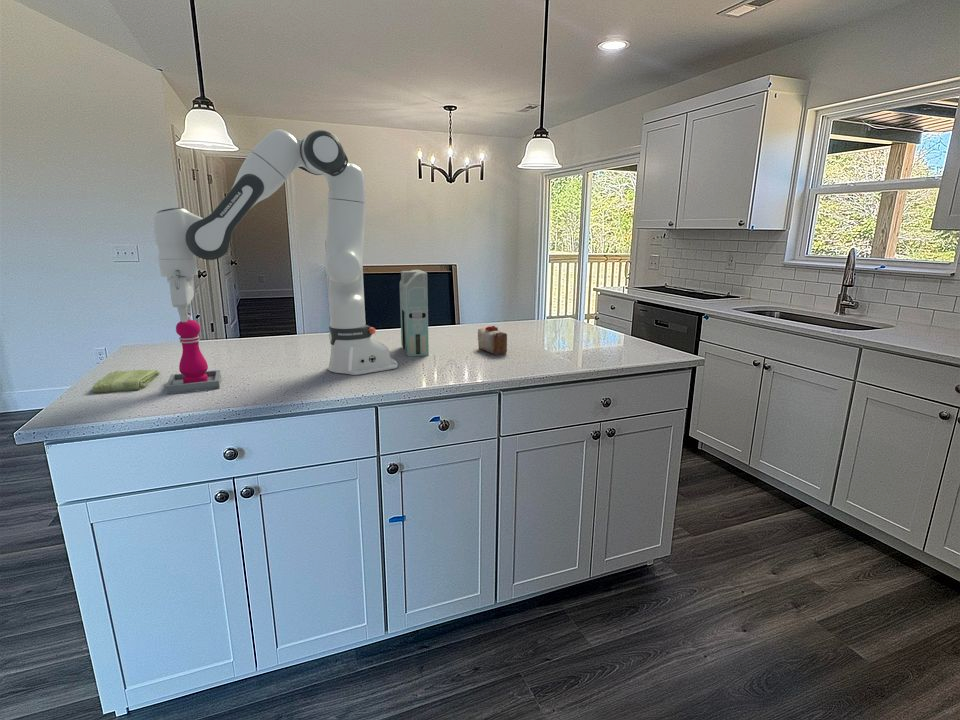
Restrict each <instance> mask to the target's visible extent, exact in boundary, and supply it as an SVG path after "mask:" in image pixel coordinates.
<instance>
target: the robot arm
mask: <svg viewBox="0 0 960 720" xmlns="http://www.w3.org/2000/svg"><path fill="white" fill-rule="evenodd" d="M297 168H298V169H300V170H303V171H305V172H306V173H309V174H311V175H315V176H324V177H325V179H326V181H327V186H328V187H327V188H328V196H327V225H326V226H327V228H326V229H327V230H326V241H325V242H326V244H325V257H324V259H325V260H324V261H325V262H324V269H325V272H326V274H327V280H328V283H327V285H328V309H329V310H328V311H329V322H330V325H329V329H328V336H329V338H328V339H329V344H330V358H329V361H328V362H329V363H328V367H327V370H328V371H329V372H332V373H337V374H348V375H352V376H353V375H354V376H358V375H363V374H369V373H376V372H382V371H388V370H394V369H397V368H398V366H399V363H398V362H397V360H395V358H392V357H391V353H390V350H389V348H388V346H387V345H386V344H385V343H382V341H380V340H378V339H377V338H376V337H374V336H373V335H375V334H376V332H377V330H376V328H375V327H372V326H370V325H368V324H366V310H365V307H366V306H365V288H364V287H365V286H364V270H363V269H364V268H363V267H364V247H365V245H364V244H365V243H364V241H365V222H366V221H365V219H366V196H367V195H366V182H365V175H364V172H363V170H362V168H361V167H360V166H358V165H357V164H355V163H352V162H349V158H348V156H347V154H346V151H345V150H344V148H343V146H342V143H341V141H340V140H339V138H338V137H337V135H335V134H333V133H331V132H330V131H327V130H323V129H322V130H321V129H319V130H314V131H312V132H311V133H309V134H308V135H306V136H305V137H304V138H297V137H295V136H294V135H293V134H292V133H290V132H289V131H287V130H284V129H280V128H279V129H278V128H277V129H274V130H272V131H271V132H269V133H268V134H267V135H266V136H265V137H263V138H262V139H261V140H260V141H258V143H257V144H256V145H255V146H254V148H252V150H251V151H250V152H249V154H248V155H247V156H246V158H245V160H244V161H243V163H242V164H241V166H240V168H239V170H238V173H237V175H236V177H235V180H234V183H233V185H232V187H231V188H230V190H229V192H228V193H227V194H226V195H225V197H224V198H223V199H222V200H221V201H220V203H219V204H218V205H217V206H216V207H215V208H214V209H213V211H212V212H211V213H210V214H209V215H208V216H206V217H204V218H203V217H201V216H199V215H197V214H195V213H192V212H190V211H188V210H187V209H186V208H183V207H171V208H166V209H161V210H159V211H157V212H156V214H155V215H154V218H153V231H154V239H155V244H156V246H157V248H158V249H157V250H158V264H159V272H160V276H161V277H163V278H164V277H165V278H166V280H167V281H166V282H167V283H169V292H170V300H171V305H172V307H173V308H177V312H178V314H179V320H180V321H181V322H187V321H188V315H189V316H190V317H191V316H192V309H191V308H192V301H193V299H194V298H195V297H194V295H195V288H194V287H195V286H194V283H195V281H194V279H195V278H194V277H195V276H198V274H199V272H198V265H197V260H196V259H197V258H200V259H203V260H207V261H213V260H218V259H220V258H222V257H223V256H225V254H226V253H227V252H228V251H229V248H230V245H231V237H232V235H233V232H234V231H235V229H236V227H237V226H238V225H239V224H240V223H241V221H242V220H243V219H244V217H245V216H246V215H247V214H248V213H249V211H250V210H251V209H252V208H253V207H254V206H255V205H256V204H258V203H260V202H262V201H263V200H266V199H268V198H269V197H271V196H272V195H273V194H275V193H276V192H277V191H278V190H279V189H280V187H282V186H283V184H284V183H285V182H286V181H287V180H288V178H289V176H290V175H291V174H292V173H294V171H295V170H296V169H297ZM196 257H197V258H196Z"/></svg>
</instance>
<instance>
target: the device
mask: <svg viewBox="0 0 960 720" xmlns="http://www.w3.org/2000/svg"><path fill="white" fill-rule="evenodd" d="M400 275H401V276H400V281H399V306H400V307H399V308H400V309H399V310H400V311H399V312H400V334H401V335H400V338H401V339H400V340H401V341H400V342H401V347H402V349H403V350H405V353H406V354H407V356H408V357H426V356H429V347H430V346H429V344H430V343H429V305H428V304H429V300H428V299H429V297H428V292H429V291H428V272H426V271H424V270H421V269H412V270H411V269H410V270H401V271H400Z"/></svg>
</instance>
